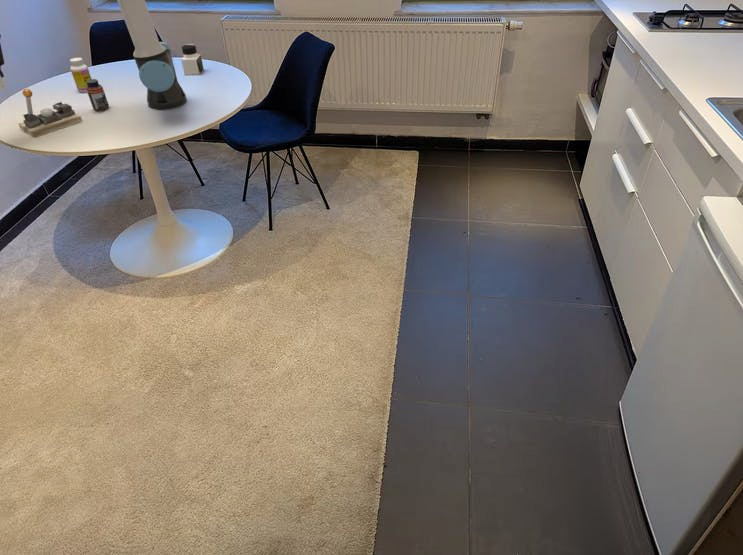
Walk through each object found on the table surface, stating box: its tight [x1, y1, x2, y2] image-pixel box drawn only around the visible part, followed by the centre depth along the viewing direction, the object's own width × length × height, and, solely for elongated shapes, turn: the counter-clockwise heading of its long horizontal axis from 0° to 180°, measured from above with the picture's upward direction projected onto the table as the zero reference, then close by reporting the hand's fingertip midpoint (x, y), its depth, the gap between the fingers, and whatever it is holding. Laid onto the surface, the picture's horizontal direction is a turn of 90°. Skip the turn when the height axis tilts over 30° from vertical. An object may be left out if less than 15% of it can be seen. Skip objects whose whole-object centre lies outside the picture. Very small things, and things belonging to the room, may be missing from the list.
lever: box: [22, 88, 34, 116], centre depth 196 cm, size 3×3×11 cm
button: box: [39, 108, 54, 118], centre depth 202 cm, size 4×4×2 cm
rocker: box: [52, 103, 73, 111], centre depth 205 cm, size 4×5×2 cm
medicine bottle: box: [180, 43, 205, 76], centre depth 244 cm, size 7×7×12 cm
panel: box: [18, 101, 83, 138], centre depth 202 cm, size 12×18×6 cm, turn 140°
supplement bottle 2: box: [86, 78, 110, 112], centre depth 212 cm, size 6×6×11 cm
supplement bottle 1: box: [69, 57, 92, 93], centre depth 230 cm, size 7×7×13 cm
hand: (2, 87), depth 187 cm, fingers closed
